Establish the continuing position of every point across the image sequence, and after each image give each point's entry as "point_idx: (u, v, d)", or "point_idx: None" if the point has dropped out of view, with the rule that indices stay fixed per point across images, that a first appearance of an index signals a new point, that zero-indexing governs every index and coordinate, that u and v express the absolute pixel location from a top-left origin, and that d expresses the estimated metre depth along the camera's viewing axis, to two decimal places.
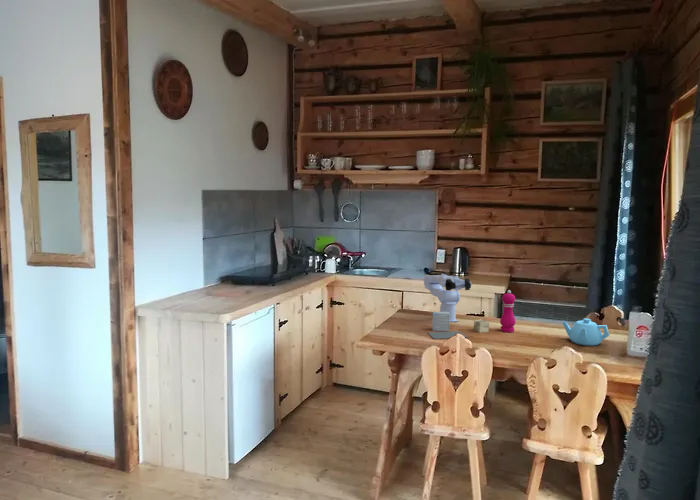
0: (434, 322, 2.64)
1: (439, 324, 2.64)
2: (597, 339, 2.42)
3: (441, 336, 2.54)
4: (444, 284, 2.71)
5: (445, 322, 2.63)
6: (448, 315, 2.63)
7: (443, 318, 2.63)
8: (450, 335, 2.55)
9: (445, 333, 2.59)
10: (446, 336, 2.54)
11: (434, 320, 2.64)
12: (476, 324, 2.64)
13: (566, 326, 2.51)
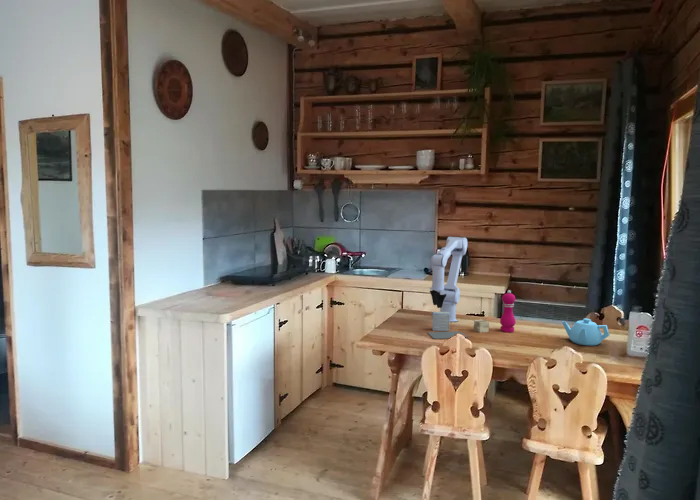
0: (434, 322, 2.64)
1: (439, 324, 2.64)
2: (597, 339, 2.42)
3: (441, 336, 2.54)
4: None
5: (445, 322, 2.63)
6: (448, 315, 2.63)
7: (443, 318, 2.63)
8: (450, 335, 2.55)
9: (445, 333, 2.59)
10: (446, 336, 2.54)
11: (434, 320, 2.64)
12: (476, 324, 2.64)
13: (566, 326, 2.51)
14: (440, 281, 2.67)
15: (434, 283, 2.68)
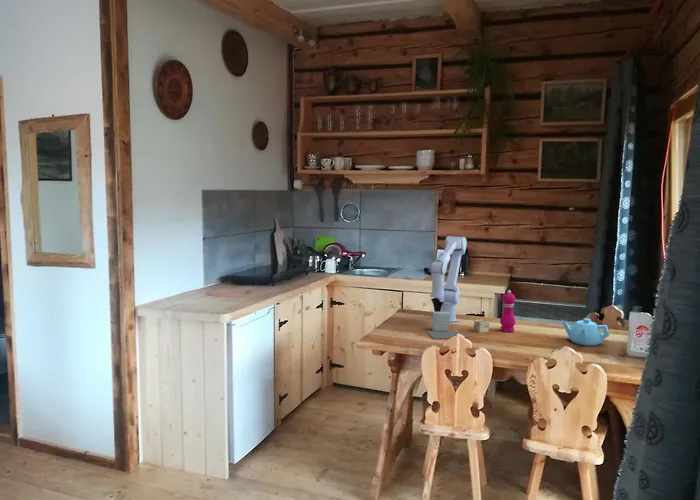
0: (434, 322, 2.64)
1: (439, 324, 2.64)
2: (597, 339, 2.42)
3: (441, 336, 2.54)
4: None
5: (445, 322, 2.63)
6: (448, 315, 2.63)
7: (443, 318, 2.63)
8: (450, 335, 2.55)
9: (445, 333, 2.59)
10: (446, 336, 2.54)
11: (434, 320, 2.64)
12: (476, 324, 2.64)
13: (566, 326, 2.51)
14: (439, 288, 2.67)
15: (434, 290, 2.68)
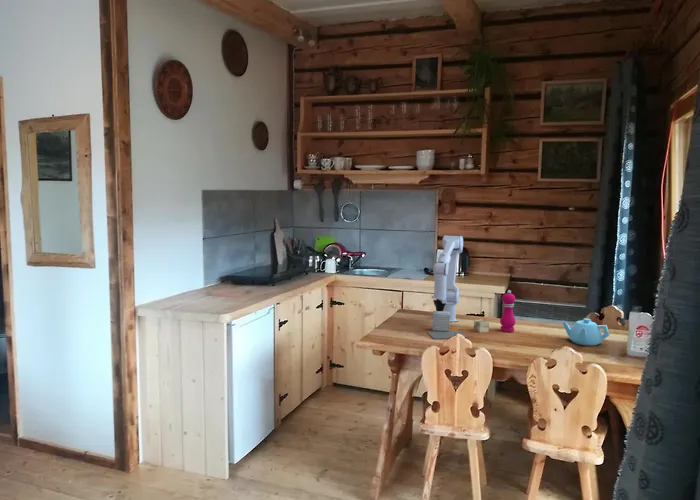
0: (434, 322, 2.63)
1: (439, 325, 2.63)
2: (597, 339, 2.42)
3: (441, 336, 2.54)
4: None
5: (445, 323, 2.63)
6: (448, 316, 2.62)
7: (443, 319, 2.62)
8: (450, 335, 2.55)
9: (445, 333, 2.59)
10: (446, 336, 2.54)
11: (434, 321, 2.63)
12: (476, 324, 2.64)
13: (566, 326, 2.51)
14: (442, 289, 2.63)
15: (436, 291, 2.64)
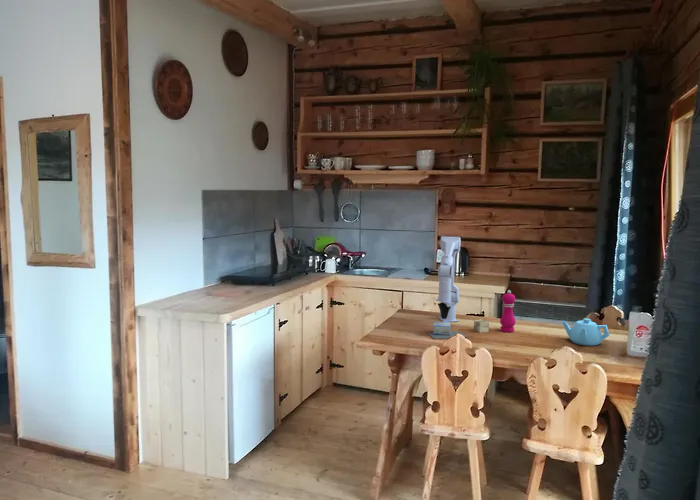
0: None
1: None
2: (597, 339, 2.42)
3: (441, 336, 2.54)
4: None
5: None
6: (449, 334, 2.56)
7: None
8: (450, 335, 2.55)
9: None
10: (446, 336, 2.54)
11: None
12: (476, 324, 2.64)
13: (566, 326, 2.51)
14: (446, 292, 2.56)
15: (441, 294, 2.57)
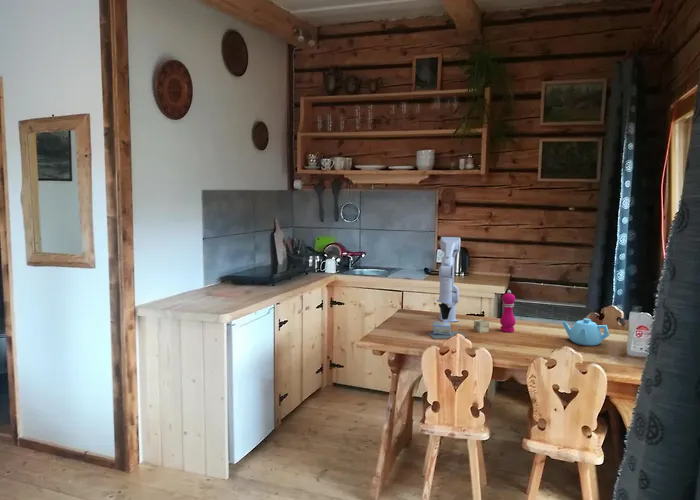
0: None
1: None
2: (597, 339, 2.42)
3: (441, 336, 2.54)
4: None
5: None
6: (449, 334, 2.56)
7: None
8: (450, 335, 2.55)
9: None
10: (446, 336, 2.54)
11: None
12: (476, 324, 2.64)
13: (566, 326, 2.51)
14: (447, 293, 2.55)
15: (442, 295, 2.56)
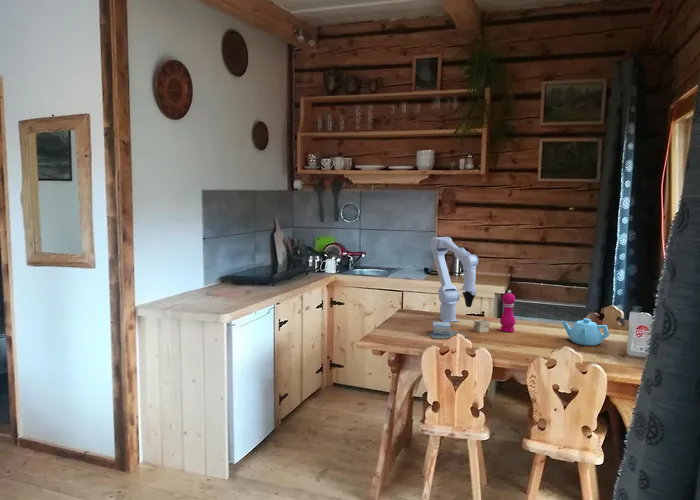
0: None
1: None
2: (597, 339, 2.42)
3: (441, 336, 2.54)
4: None
5: None
6: (449, 334, 2.56)
7: None
8: (450, 335, 2.55)
9: None
10: (446, 336, 2.54)
11: None
12: (476, 324, 2.64)
13: (566, 326, 2.51)
14: (471, 281, 2.66)
15: (466, 283, 2.67)
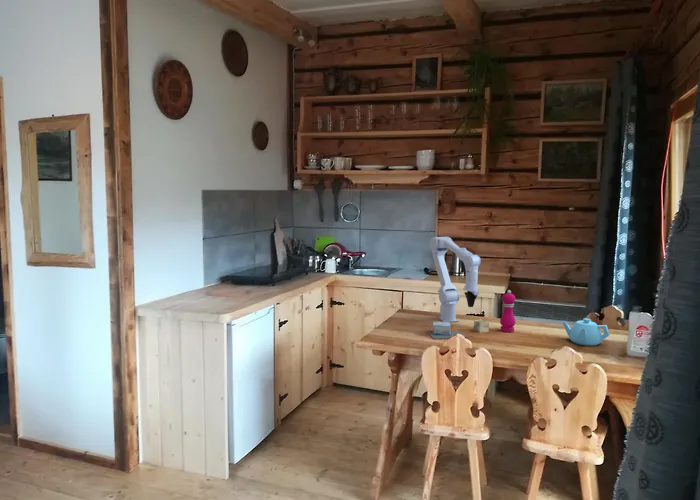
0: None
1: None
2: (597, 339, 2.42)
3: (441, 336, 2.54)
4: None
5: None
6: (449, 334, 2.56)
7: None
8: (450, 335, 2.55)
9: None
10: (446, 336, 2.54)
11: None
12: (476, 324, 2.64)
13: (566, 326, 2.51)
14: (473, 281, 2.66)
15: (468, 283, 2.67)
